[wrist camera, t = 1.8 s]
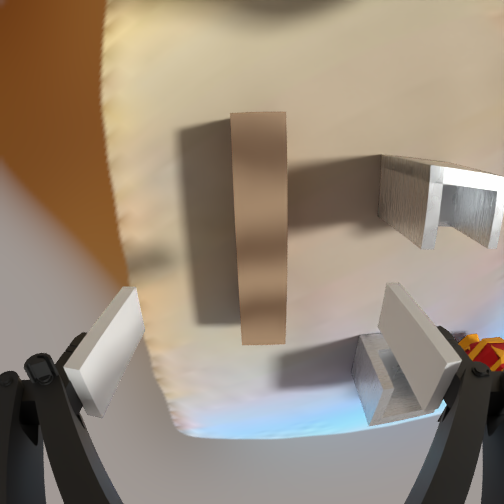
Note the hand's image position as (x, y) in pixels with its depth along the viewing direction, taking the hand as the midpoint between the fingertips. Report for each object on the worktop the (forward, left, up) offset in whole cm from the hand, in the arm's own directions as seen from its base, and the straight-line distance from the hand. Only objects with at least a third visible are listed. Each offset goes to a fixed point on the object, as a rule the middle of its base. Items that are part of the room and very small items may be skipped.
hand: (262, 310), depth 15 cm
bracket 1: (+16, +16, -14) cm, 26 cm away
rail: (0, 0, -14) cm, 14 cm away
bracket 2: (-4, +16, -14) cm, 21 cm away
